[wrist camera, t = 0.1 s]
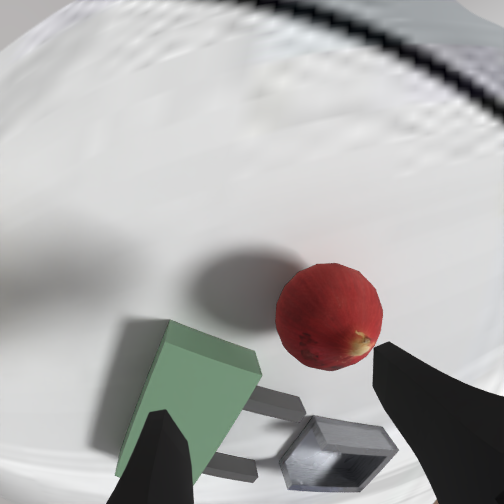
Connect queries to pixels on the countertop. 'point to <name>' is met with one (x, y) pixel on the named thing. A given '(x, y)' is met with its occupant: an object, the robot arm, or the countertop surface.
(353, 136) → the countertop surface
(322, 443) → the chute
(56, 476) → the countertop surface
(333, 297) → the onion
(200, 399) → the green pronged block
